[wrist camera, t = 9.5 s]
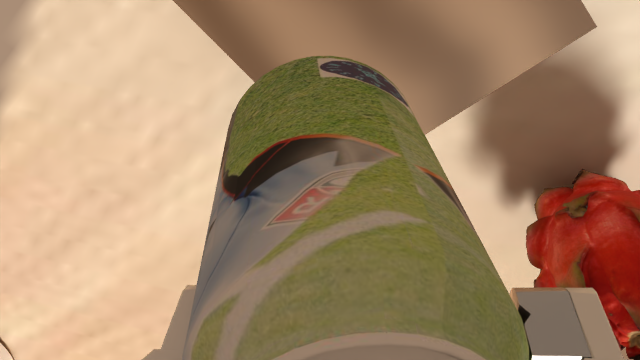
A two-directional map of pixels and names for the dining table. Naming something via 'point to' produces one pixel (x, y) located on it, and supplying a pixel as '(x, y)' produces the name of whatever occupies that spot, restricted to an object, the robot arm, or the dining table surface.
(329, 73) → the beverage can
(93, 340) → the dining table surface
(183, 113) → the dining table surface
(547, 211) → the dragon fruit
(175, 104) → the dining table surface
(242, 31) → the walnut base
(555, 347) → the robot arm
